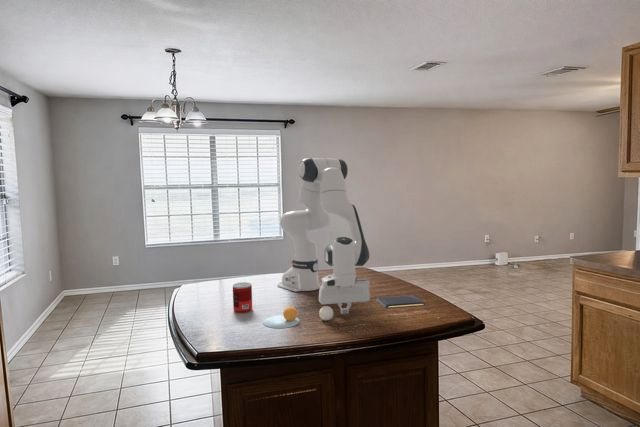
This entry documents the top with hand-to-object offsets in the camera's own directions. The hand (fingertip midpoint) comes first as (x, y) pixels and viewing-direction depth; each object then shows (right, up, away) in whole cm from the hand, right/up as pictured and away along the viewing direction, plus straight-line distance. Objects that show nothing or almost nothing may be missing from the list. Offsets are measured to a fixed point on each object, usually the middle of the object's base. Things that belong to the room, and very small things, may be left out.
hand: (344, 313), depth 167 cm
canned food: (-42, -2, +11) cm, 44 cm away
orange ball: (-21, 0, -3) cm, 22 cm away
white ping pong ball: (-7, +1, -3) cm, 8 cm away
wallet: (+26, -1, +19) cm, 32 cm away
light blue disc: (-25, -2, -4) cm, 25 cm away
